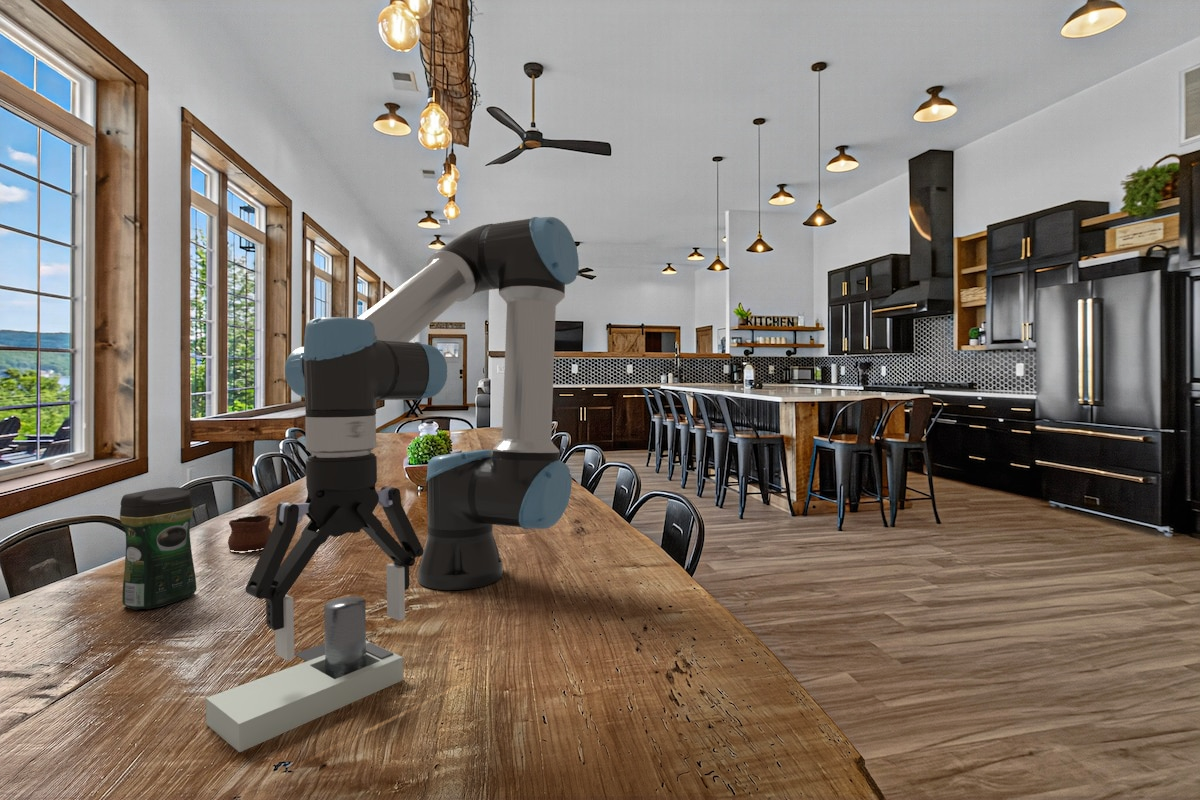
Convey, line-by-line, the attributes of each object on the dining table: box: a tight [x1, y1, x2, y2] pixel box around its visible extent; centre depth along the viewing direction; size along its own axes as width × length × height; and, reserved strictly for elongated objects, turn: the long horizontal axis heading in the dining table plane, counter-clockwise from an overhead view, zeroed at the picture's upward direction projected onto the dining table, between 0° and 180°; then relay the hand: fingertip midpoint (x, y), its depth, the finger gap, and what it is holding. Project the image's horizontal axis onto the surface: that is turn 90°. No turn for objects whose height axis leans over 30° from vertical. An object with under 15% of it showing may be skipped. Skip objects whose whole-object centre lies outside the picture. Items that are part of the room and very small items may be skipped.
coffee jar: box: [119, 486, 197, 611], centre depth 100 cm, size 10×8×19 cm
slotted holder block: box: [205, 640, 404, 753], centre depth 68 cm, size 8×18×3 cm, turn 142°
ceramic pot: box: [227, 514, 272, 551], centre depth 133 cm, size 18×18×7 cm
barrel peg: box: [323, 596, 367, 679], centre depth 71 cm, size 4×4×10 cm
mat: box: [294, 642, 325, 662], centre depth 80 cm, size 7×7×1 cm
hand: (344, 635), depth 71 cm, fingers open, 13 cm apart
